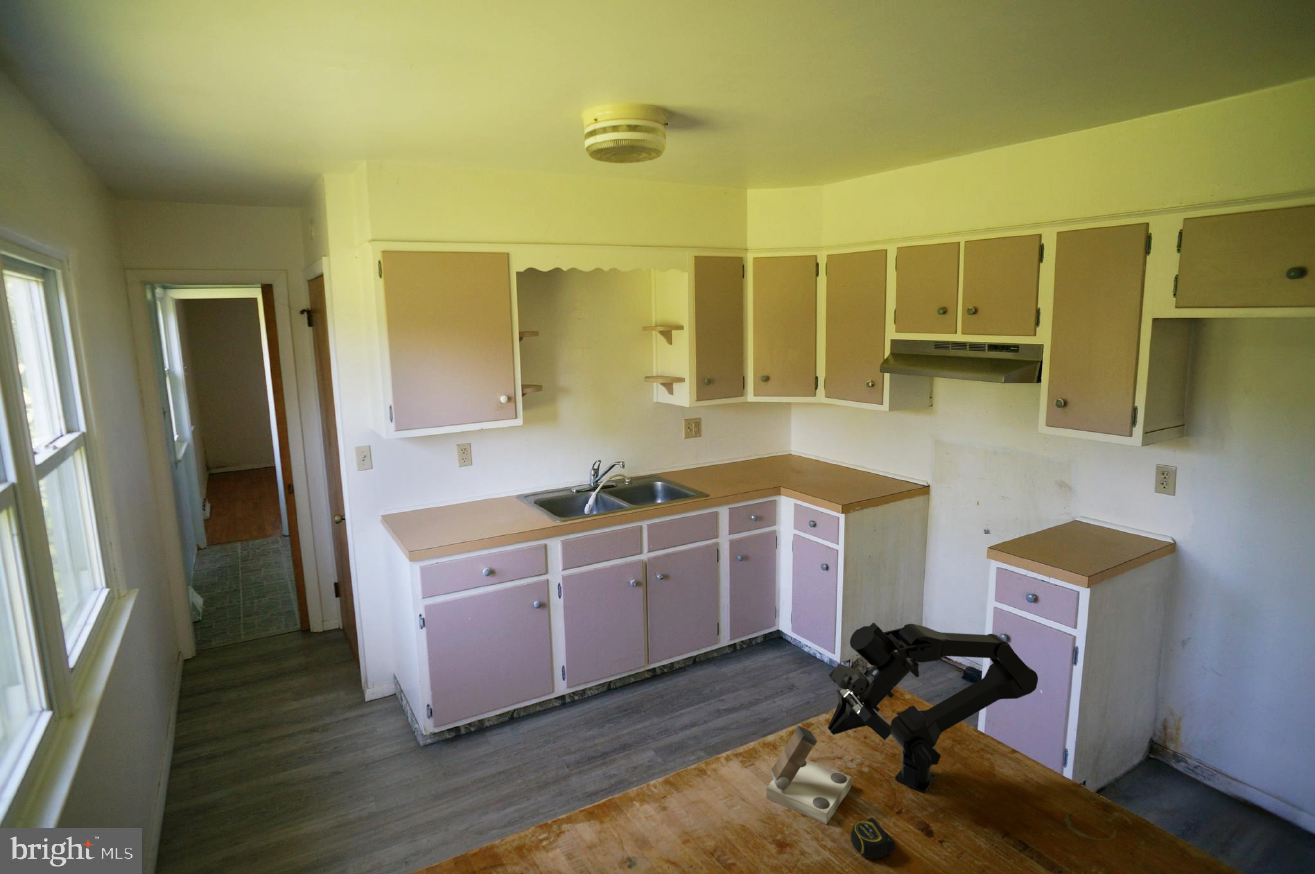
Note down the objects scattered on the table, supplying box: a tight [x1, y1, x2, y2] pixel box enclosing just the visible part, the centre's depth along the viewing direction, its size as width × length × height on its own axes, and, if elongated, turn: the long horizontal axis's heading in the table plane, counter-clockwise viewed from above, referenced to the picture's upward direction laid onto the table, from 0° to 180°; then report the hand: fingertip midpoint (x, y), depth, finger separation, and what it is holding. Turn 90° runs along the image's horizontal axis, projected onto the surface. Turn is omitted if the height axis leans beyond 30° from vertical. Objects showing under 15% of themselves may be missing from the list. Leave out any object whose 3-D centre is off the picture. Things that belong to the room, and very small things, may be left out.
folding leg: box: [770, 725, 818, 790], centre depth 143 cm, size 3×3×12 cm
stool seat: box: [765, 758, 852, 825], centre depth 144 cm, size 13×13×3 cm
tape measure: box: [850, 817, 896, 859], centre depth 130 cm, size 7×7×4 cm
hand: (830, 731), depth 143 cm, fingers closed
